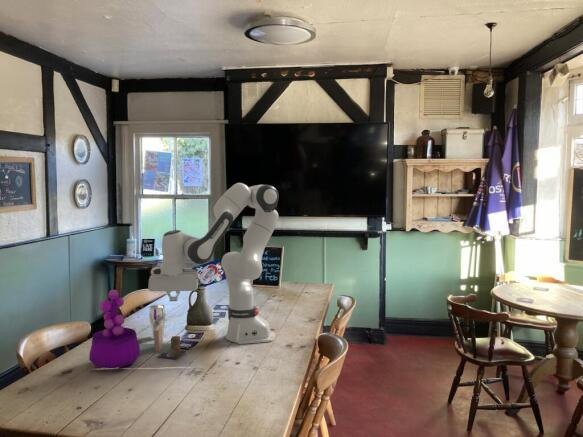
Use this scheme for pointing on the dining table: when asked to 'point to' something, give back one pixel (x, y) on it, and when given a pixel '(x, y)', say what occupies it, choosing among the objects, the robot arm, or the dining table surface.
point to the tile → (158, 338)
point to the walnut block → (175, 346)
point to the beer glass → (157, 318)
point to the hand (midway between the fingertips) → (173, 301)
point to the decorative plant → (114, 338)
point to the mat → (151, 348)
